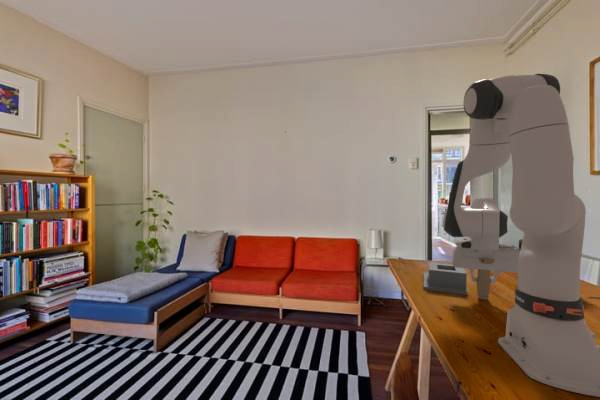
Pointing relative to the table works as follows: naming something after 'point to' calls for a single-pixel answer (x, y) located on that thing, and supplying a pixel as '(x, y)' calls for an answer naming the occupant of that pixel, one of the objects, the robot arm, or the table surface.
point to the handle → (484, 280)
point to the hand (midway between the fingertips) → (483, 281)
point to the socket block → (445, 279)
